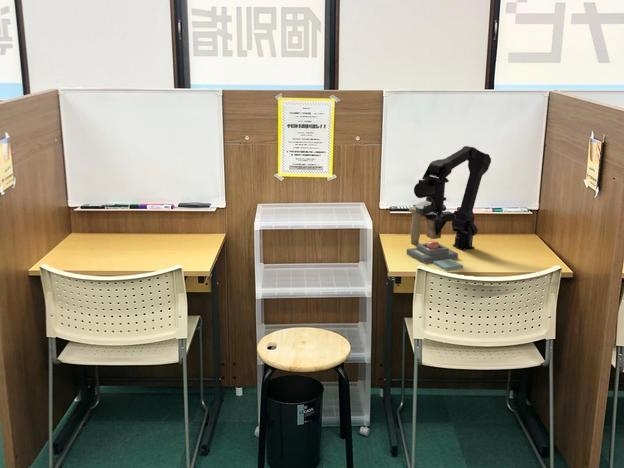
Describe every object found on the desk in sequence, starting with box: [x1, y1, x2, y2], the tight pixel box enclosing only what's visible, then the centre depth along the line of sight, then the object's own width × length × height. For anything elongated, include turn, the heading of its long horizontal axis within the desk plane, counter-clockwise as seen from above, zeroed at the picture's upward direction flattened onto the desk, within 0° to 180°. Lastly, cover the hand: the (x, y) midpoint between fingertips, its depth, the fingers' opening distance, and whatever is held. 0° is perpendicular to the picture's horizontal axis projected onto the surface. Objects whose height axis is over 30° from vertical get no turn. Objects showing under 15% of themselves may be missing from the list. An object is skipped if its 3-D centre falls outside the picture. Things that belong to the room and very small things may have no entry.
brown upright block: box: [426, 218, 442, 240], centre depth 263 cm, size 4×4×7 cm
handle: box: [408, 206, 422, 245], centre depth 280 cm, size 5×6×15 cm
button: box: [426, 240, 440, 249], centre depth 265 cm, size 4×4×4 cm
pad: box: [432, 259, 464, 271], centre depth 255 cm, size 8×8×1 cm
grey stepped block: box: [406, 242, 459, 264], centre depth 266 cm, size 16×12×4 cm
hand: (433, 233), depth 264 cm, fingers closed on brown upright block, 4 cm apart
